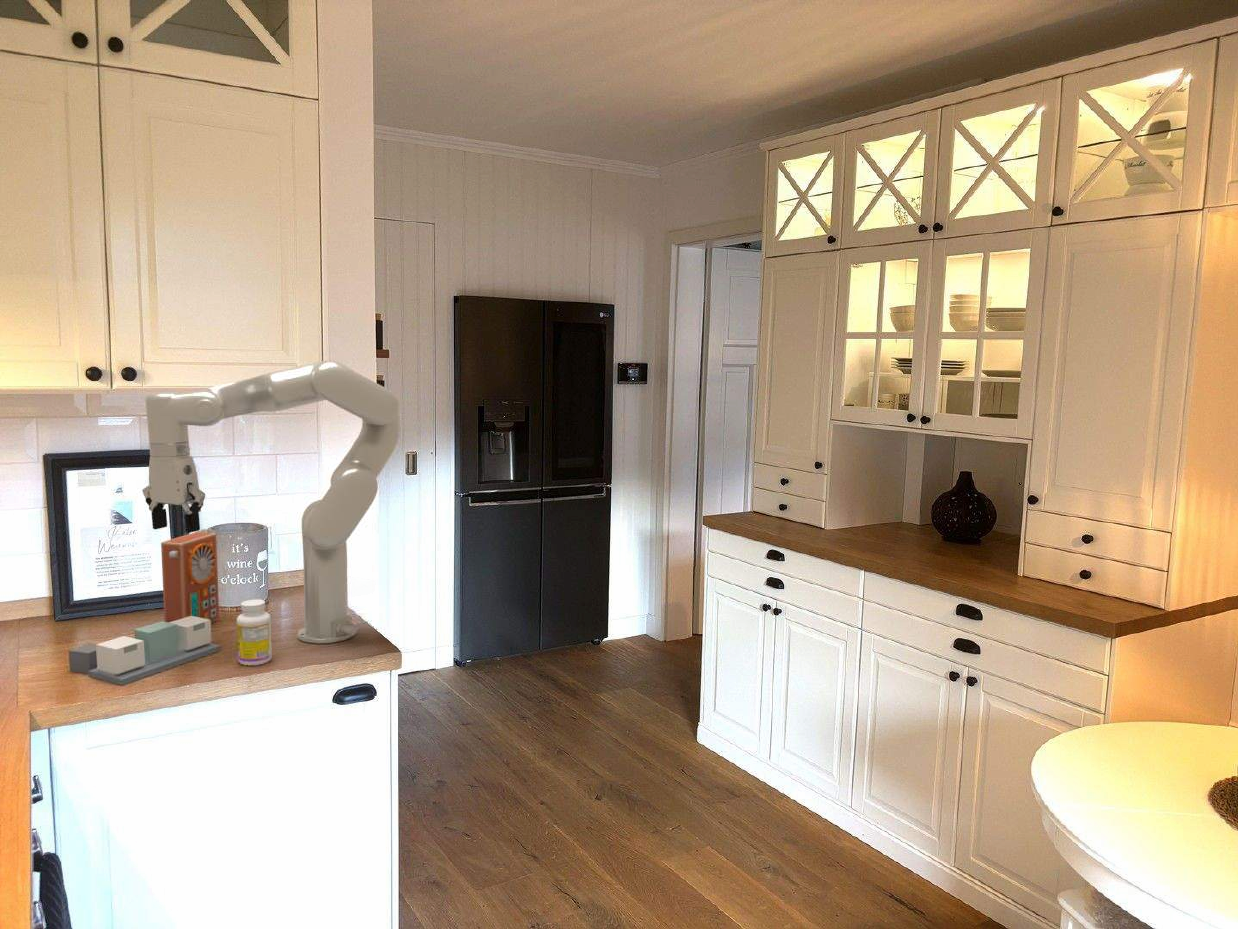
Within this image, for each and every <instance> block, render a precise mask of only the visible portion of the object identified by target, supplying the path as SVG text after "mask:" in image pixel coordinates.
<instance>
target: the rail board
mask: <svg viewBox="0 0 1238 929" xmlns="http://www.w3.org/2000/svg"><path fill="white" fill-rule="evenodd" d="M217 651H218V652H221V646H220V645H219V644H215V643H212V642H210V643H209V644H208V645H205V646H202V647H199V648H196V649H193V650H190V651H187V652H184V653H181V654H179V655H176V656H173V657H170V658H167V659H164V660H161V661H158V662H155V663H152V664H149V665H146V666H143V667H141V668H138V669H135V670H132V671H129V672H126V673H123V674H120V675H117V676H112V675H108V674H104V673H100V669H97V668H95V669H92V670H89V674H88V677H89V678H92V677H93V678H92V679H97V680H101V681H104V682H108V683H112V684H116V685H119V686H125V685H128V684H131V683H133V682H137V681H139V680H142V679H145V678H147V677H151V676H153V675H156V674H159V673H162V672H163V671H162V670H165V669H167V670H170V669H172V668H176V667H178V665H179V666H181V665H180V664H182V665H184V664H186V663H185V662H187V663H189V662H192V660H193V661H195V659H196V660H198V659H201V658H203V657H202V656H204V657H206V655H207V656H210V655H212V653H213V654H215V653H218V652H217ZM209 654H210V655H209ZM200 657H201V658H200ZM197 658H198V659H197ZM183 663H184V664H183ZM175 666H176V667H175ZM161 671H162V672H161ZM165 671H166V670H165ZM158 672H159V673H158ZM150 675H151V676H150Z"/></svg>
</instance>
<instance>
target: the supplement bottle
mask: <svg viewBox="0 0 1238 929" xmlns="http://www.w3.org/2000/svg"><path fill="white" fill-rule="evenodd" d="M240 609H241V611H242V613H241V614H239V615H238V616H237V618H236V636H237V637H236V640H237V659H238V662H239V664H240V665H242V664H243V666H247V665H248V666H252V665H253V666H258V665H260V664H261V665H264V664H266V663H268V662H269V661H271V659H272V658H273V649H272V624H271V622H272V620H271V615H270V613H268V612H267V611H265V609H266V601H265V600H263V599H256V598H255V599H247V600H245V601H241V603H240Z"/></svg>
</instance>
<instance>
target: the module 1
mask: <svg viewBox="0 0 1238 929" xmlns="http://www.w3.org/2000/svg"><path fill="white" fill-rule="evenodd" d="M96 644H97V643H95V642H94V643H93V642H88V643H87V642H86V644H82V645H79V646H77V647H74V648H72V649H69V650H68V661H69V662H68V664H69V672H70V671H71V673H77V672H78V673H79V674H87V675H89V670H92V669H95V668H97V654H96Z"/></svg>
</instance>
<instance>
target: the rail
mask: <svg viewBox="0 0 1238 929" xmlns="http://www.w3.org/2000/svg"><path fill="white" fill-rule="evenodd" d="M208 644H209V643H207V644H204V645H201V646H198V647H195V648H192V649H189V650H185V649H181V648H178V652H176V653H174V654H171V655H168V656H165V657H162V658H159V659H156V660H153V661H147V660H145V665H143V666H146V665H149V664H152V663H155V662H158V661H161V660H164V659H167V658H170V657H173V656H176V655H179V654H181V653H184V652H187V651H190V650H193V649H196V648H199V647H202V646H205V645H208ZM143 666H140V667H137V668H134V669H131V670H128V671H125V672H122V673H119V674H115V673H111V672H108V671H104V670H100V673H104V674H108V675H112V676H117V675H120V674H123V673H126V672H129V671H132V670H135V669H138V668H141V667H143Z"/></svg>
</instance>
